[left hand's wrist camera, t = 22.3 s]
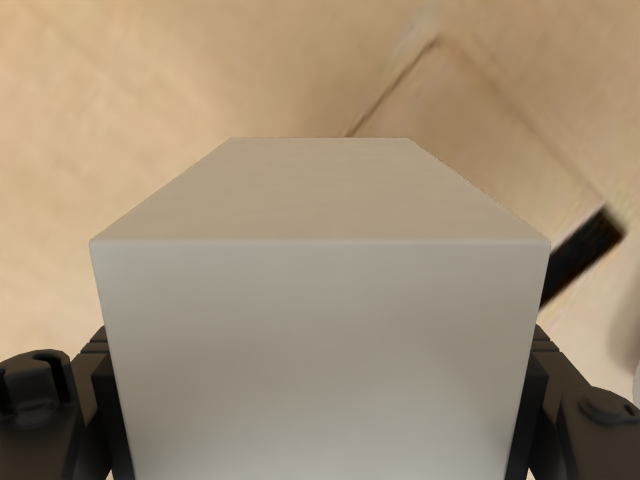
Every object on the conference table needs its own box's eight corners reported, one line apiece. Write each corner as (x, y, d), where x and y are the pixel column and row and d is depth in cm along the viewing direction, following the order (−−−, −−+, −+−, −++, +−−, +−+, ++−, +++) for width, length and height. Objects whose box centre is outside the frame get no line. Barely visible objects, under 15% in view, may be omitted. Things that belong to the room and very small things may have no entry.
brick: (409, 137, 16) (555, 240, 6) (395, 328, 19) (480, 610, 9) (229, 137, 16) (83, 240, 6) (243, 329, 19) (159, 611, 9)
